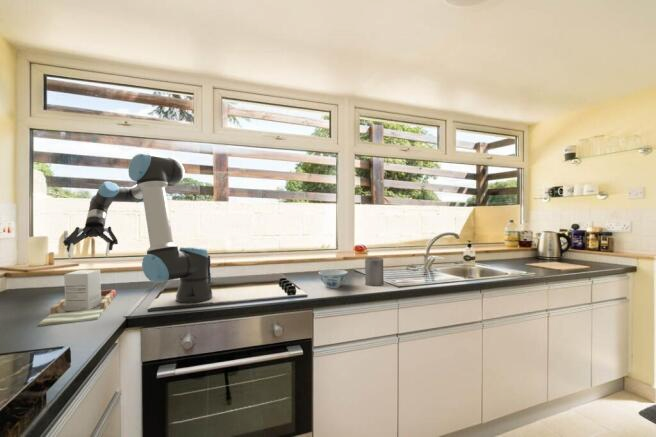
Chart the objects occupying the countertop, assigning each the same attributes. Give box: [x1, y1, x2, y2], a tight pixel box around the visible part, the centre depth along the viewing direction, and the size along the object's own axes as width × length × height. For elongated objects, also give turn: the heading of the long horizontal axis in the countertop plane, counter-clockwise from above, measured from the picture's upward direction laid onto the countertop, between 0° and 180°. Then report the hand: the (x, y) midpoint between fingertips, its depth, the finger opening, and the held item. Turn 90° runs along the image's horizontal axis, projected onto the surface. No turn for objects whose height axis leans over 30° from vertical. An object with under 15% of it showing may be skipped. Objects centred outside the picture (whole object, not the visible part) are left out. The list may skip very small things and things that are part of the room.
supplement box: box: [63, 269, 102, 312], centre depth 134 cm, size 9×9×15 cm
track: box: [38, 288, 117, 327], centre depth 134 cm, size 40×17×3 cm, turn 25°
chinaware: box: [318, 268, 349, 289], centre depth 169 cm, size 15×15×8 cm
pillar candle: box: [364, 256, 385, 287], centre depth 174 cm, size 10×10×15 cm
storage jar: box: [207, 254, 212, 285], centre depth 178 cm, size 10×10×15 cm
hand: (88, 256), depth 144 cm, fingers open, 13 cm apart
